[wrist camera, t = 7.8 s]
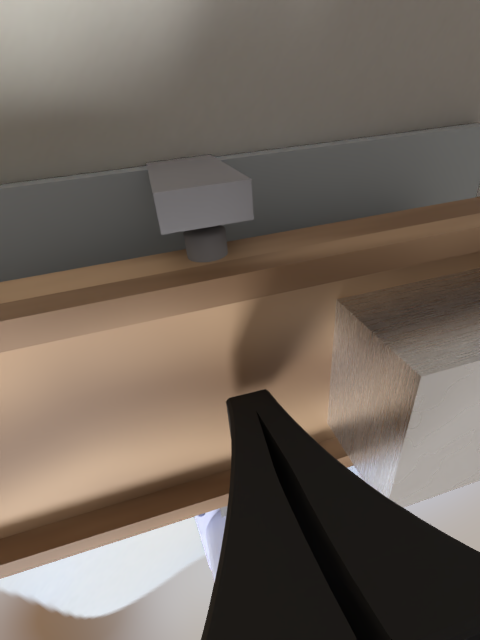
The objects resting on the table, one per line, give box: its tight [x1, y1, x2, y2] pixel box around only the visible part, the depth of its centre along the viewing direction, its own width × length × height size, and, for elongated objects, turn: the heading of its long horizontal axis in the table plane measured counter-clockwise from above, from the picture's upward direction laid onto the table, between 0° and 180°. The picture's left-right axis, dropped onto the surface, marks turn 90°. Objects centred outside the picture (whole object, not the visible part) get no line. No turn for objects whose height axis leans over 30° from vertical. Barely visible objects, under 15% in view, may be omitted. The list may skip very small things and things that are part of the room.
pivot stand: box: [0, 123, 480, 517], centre depth 14 cm, size 14×26×6 cm, turn 95°
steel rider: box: [327, 268, 480, 507], centre depth 12 cm, size 6×6×4 cm
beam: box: [0, 197, 480, 579], centre depth 12 cm, size 11×22×3 cm, turn 95°
